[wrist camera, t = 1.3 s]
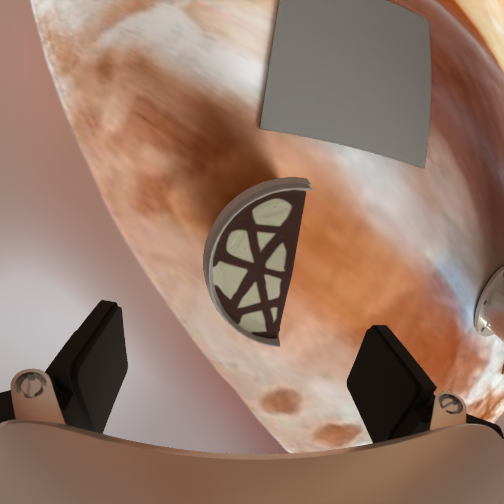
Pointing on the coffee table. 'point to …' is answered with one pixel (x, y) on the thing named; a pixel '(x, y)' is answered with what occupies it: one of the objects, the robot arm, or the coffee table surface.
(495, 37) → the coffee table surface
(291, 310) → the coffee table surface
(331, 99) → the mat
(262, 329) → the food container
